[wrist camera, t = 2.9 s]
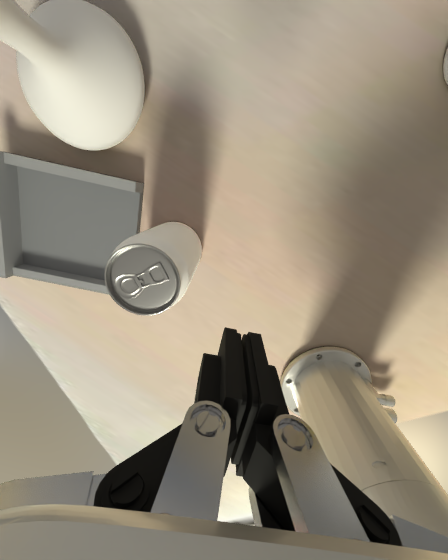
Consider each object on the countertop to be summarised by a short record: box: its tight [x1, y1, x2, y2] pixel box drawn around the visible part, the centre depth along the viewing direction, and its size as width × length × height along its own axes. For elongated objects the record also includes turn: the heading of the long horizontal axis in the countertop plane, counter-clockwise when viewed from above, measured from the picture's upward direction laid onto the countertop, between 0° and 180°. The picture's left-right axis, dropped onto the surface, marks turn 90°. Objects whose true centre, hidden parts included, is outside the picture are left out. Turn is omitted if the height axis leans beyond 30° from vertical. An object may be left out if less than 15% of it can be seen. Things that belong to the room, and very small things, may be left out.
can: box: [104, 222, 202, 316], centre depth 23 cm, size 6×6×12 cm
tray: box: [0, 151, 144, 295], centre depth 27 cm, size 14×13×4 cm
